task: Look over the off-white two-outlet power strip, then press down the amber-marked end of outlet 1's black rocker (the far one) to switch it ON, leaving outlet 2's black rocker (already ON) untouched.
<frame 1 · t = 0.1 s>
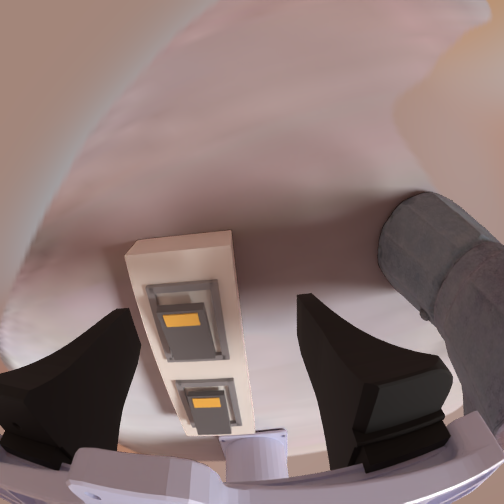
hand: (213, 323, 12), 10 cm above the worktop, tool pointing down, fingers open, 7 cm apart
power strip: (204, 345, 25), on the worktop
rocker 2: (210, 414, 23), point 4 cm above the worktop, hinge at 10.0°
moka pot: (420, 237, 22), on the worktop
rocker 1: (187, 334, 19), point 4 cm above the worktop, hinge at -10.0°
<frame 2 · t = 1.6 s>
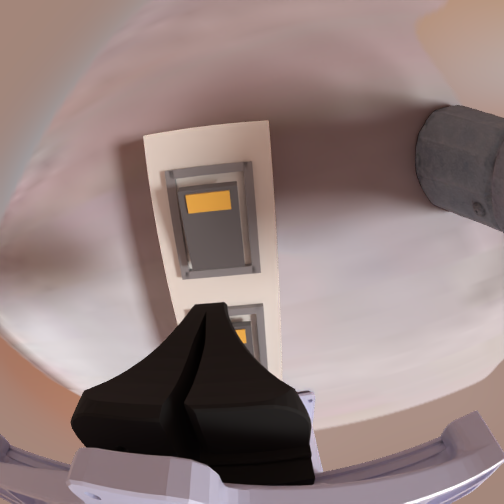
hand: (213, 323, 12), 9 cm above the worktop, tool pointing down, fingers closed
power strip: (225, 270, 22), on the worktop
rocker 2: (231, 356, 20), point 4 cm above the worktop, hinge at 10.0°
moka pot: (453, 153, 19), on the worktop
rocker 1: (213, 228, 16), point 4 cm above the worktop, hinge at -10.0°
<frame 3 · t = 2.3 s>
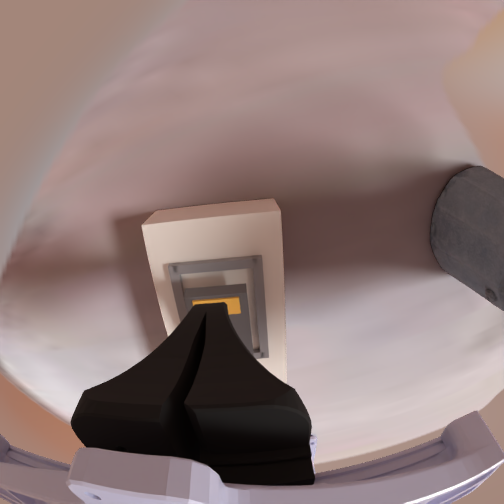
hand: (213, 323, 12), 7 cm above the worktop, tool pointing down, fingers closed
power strip: (232, 341, 21), on the worktop
moka pot: (469, 215, 19), on the worktop
rocker 1: (221, 326, 15), point 4 cm above the worktop, hinge at -10.0°
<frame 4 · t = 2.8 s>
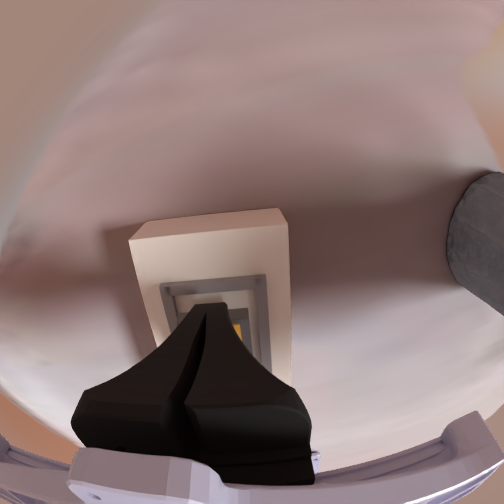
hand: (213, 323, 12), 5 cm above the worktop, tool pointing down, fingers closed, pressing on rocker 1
power strip: (232, 362, 19), on the worktop
moka pot: (486, 224, 17), on the worktop
rocker 1: (220, 353, 14), point 4 cm above the worktop, hinge at -9.9°, touching gripper
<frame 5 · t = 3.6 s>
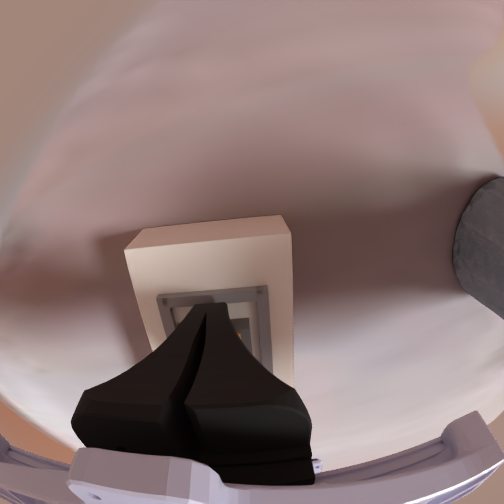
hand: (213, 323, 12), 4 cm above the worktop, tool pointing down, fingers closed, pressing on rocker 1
power strip: (232, 372, 18), on the worktop
moka pot: (492, 230, 16), on the worktop
rocker 1: (220, 366, 13), point 4 cm above the worktop, hinge at -4.2°, touching gripper
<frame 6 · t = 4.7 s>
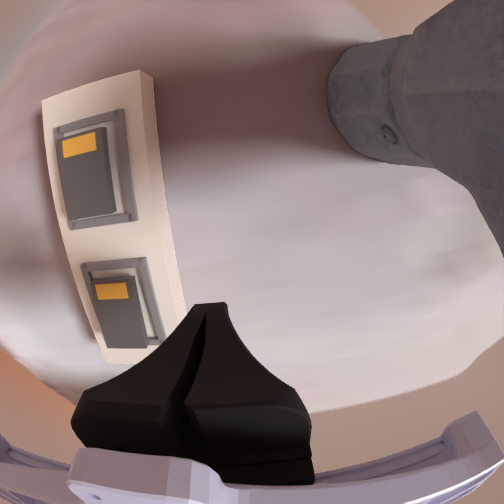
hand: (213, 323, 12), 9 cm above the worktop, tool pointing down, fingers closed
power strip: (123, 227, 20), on the worktop
rocker 2: (119, 314, 18), point 4 cm above the worktop, hinge at 10.0°
moka pot: (382, 96, 18), on the worktop
rocker 1: (85, 174, 14), point 4 cm above the worktop, hinge at 2.8°
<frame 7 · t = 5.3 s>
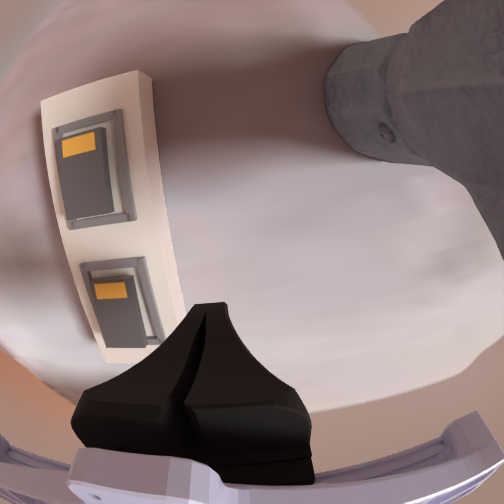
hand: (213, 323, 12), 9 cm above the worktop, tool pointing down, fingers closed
power strip: (122, 227, 20), on the worktop
rocker 2: (118, 313, 18), point 4 cm above the worktop, hinge at 10.0°
moka pot: (380, 95, 18), on the worktop
rocker 1: (83, 174, 14), point 4 cm above the worktop, hinge at 5.8°
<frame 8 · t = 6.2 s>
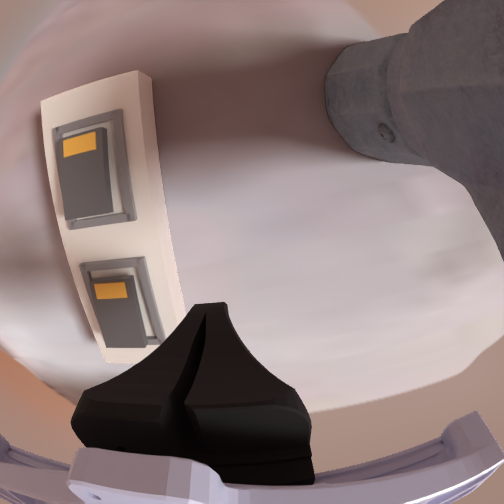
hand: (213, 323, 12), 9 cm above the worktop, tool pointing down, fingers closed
power strip: (122, 227, 20), on the worktop
rocker 2: (118, 313, 18), point 4 cm above the worktop, hinge at 10.0°
moka pot: (380, 95, 18), on the worktop
rocker 1: (83, 174, 14), point 4 cm above the worktop, hinge at 9.5°
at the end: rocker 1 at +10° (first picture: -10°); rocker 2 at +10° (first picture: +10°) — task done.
